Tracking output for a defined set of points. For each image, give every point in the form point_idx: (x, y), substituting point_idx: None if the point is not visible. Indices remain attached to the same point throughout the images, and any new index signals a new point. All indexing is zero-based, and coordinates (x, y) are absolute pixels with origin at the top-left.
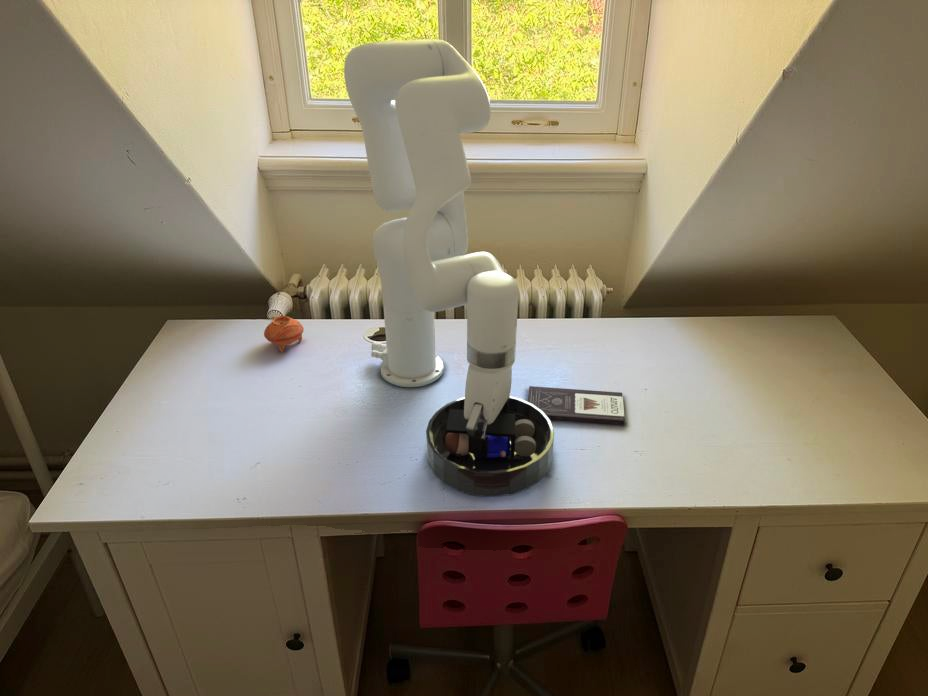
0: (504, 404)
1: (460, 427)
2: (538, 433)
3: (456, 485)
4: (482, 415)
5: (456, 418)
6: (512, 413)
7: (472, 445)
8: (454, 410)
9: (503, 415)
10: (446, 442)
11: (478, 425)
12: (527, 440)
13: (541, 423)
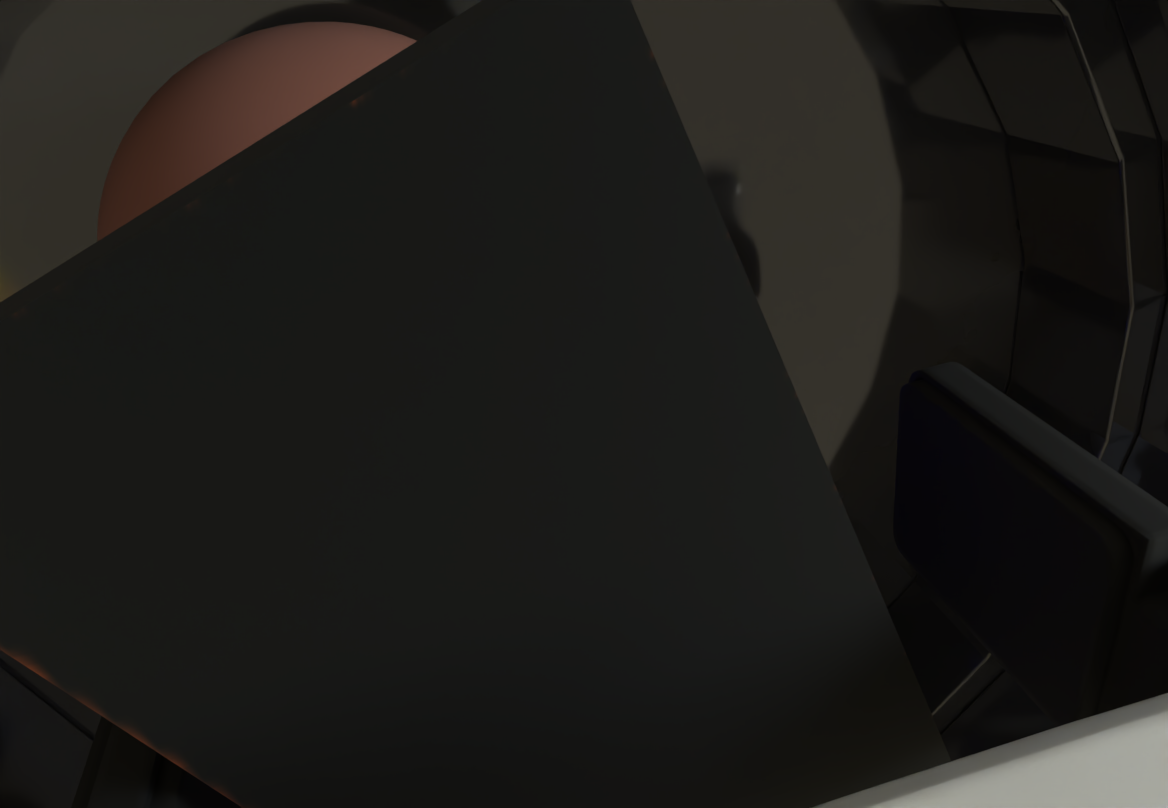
0: (1085, 717)
1: (139, 622)
2: (912, 646)
3: None
4: (752, 599)
5: (364, 351)
6: (1095, 405)
7: (86, 794)
8: (620, 104)
9: (880, 751)
10: (118, 155)
11: (457, 745)
12: None
13: (994, 716)
